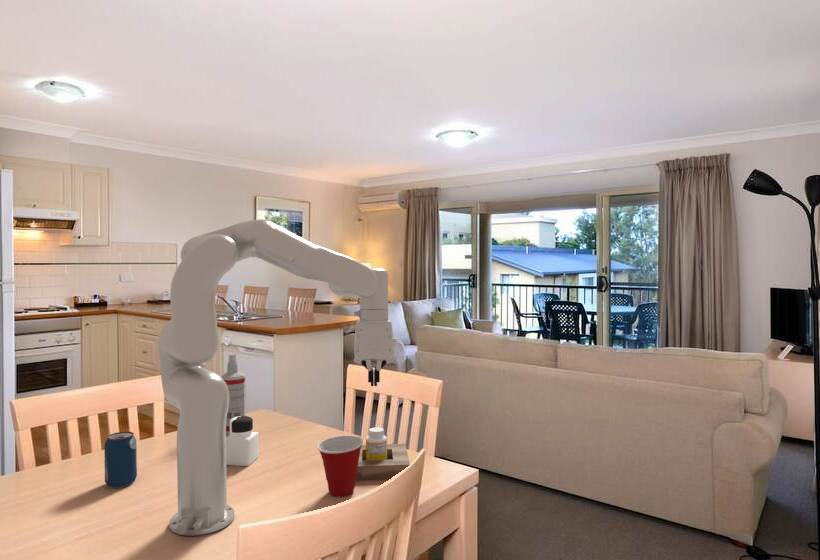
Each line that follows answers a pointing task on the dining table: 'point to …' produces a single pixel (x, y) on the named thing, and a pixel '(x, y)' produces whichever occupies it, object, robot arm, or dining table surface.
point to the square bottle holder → (383, 463)
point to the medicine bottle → (242, 442)
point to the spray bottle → (234, 391)
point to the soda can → (120, 459)
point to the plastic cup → (341, 462)
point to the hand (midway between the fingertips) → (373, 385)
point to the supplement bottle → (376, 444)
